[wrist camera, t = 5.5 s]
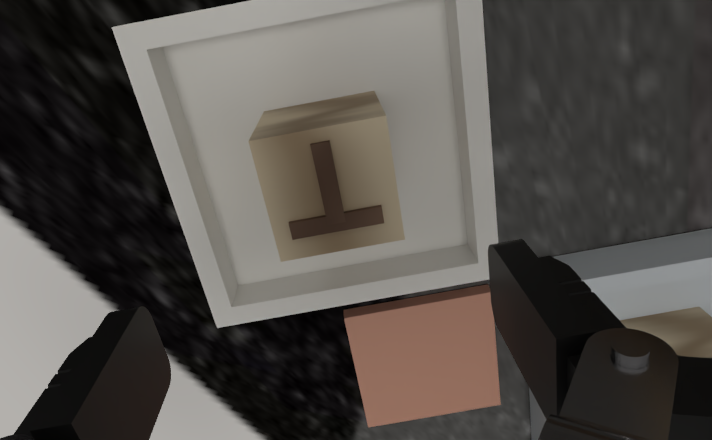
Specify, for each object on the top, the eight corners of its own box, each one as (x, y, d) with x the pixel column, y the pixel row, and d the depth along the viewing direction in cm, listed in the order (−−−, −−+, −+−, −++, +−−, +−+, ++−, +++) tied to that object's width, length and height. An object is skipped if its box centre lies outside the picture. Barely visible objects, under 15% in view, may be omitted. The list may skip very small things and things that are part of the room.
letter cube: (374, 90, 23) (386, 116, 18) (390, 193, 25) (405, 241, 20) (263, 111, 23) (247, 142, 18) (289, 212, 25) (280, 264, 20)
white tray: (462, -40, 21) (479, -44, 19) (485, 252, 27) (500, 277, 25) (135, 23, 22) (111, 27, 19) (226, 298, 27) (217, 327, 25)
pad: (487, 284, 28) (492, 292, 27) (496, 395, 31) (500, 404, 30) (343, 309, 28) (344, 318, 27) (367, 417, 31) (368, 427, 31)
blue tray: (785, 215, 27) (829, 236, 25) (747, 411, 33) (780, 443, 30) (523, 261, 27) (542, 287, 25) (531, 447, 33) (547, 482, 31)
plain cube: (699, 306, 28) (770, 366, 24) (690, 375, 31) (754, 442, 26) (609, 321, 29) (663, 384, 24) (607, 389, 31) (656, 459, 26)
